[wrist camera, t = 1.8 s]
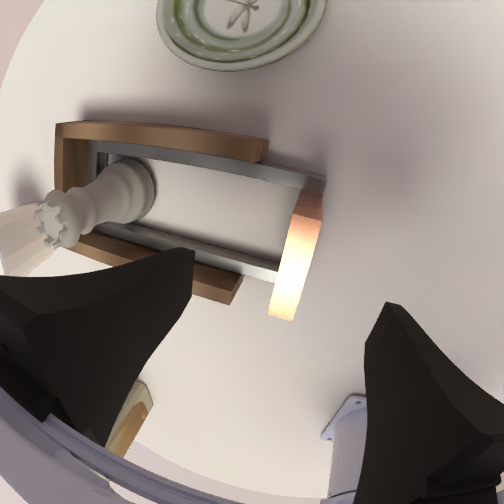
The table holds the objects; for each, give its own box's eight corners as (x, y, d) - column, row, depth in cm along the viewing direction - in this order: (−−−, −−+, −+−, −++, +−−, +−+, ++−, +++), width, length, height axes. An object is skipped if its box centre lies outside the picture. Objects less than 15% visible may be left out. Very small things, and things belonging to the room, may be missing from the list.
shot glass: (54, 273, 25) (7, 306, 19) (20, 230, 25) (-26, 256, 18) (68, 227, 22) (10, 260, 16) (31, 182, 21) (-25, 204, 15)
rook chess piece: (101, 194, 20) (20, 230, 13) (124, 145, 18) (34, 165, 11) (141, 230, 20) (65, 281, 13) (169, 182, 18) (85, 220, 11)
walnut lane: (269, 140, 16) (258, 142, 13) (242, 281, 20) (229, 305, 17) (84, 120, 18) (55, 123, 15) (83, 232, 22) (59, 245, 19)
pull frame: (326, 177, 16) (327, 199, 11) (298, 279, 19) (287, 334, 14) (100, 138, 18) (42, 149, 13) (99, 223, 21) (49, 251, 16)
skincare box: (114, 390, 31) (66, 457, 21) (104, 368, 30) (47, 438, 19) (156, 406, 30) (110, 484, 19) (148, 384, 28) (93, 468, 17)
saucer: (197, -47, 11) (182, -61, 9) (341, -32, 10) (342, -51, 8) (156, 67, 15) (135, 62, 13) (304, 95, 14) (301, 89, 12)
